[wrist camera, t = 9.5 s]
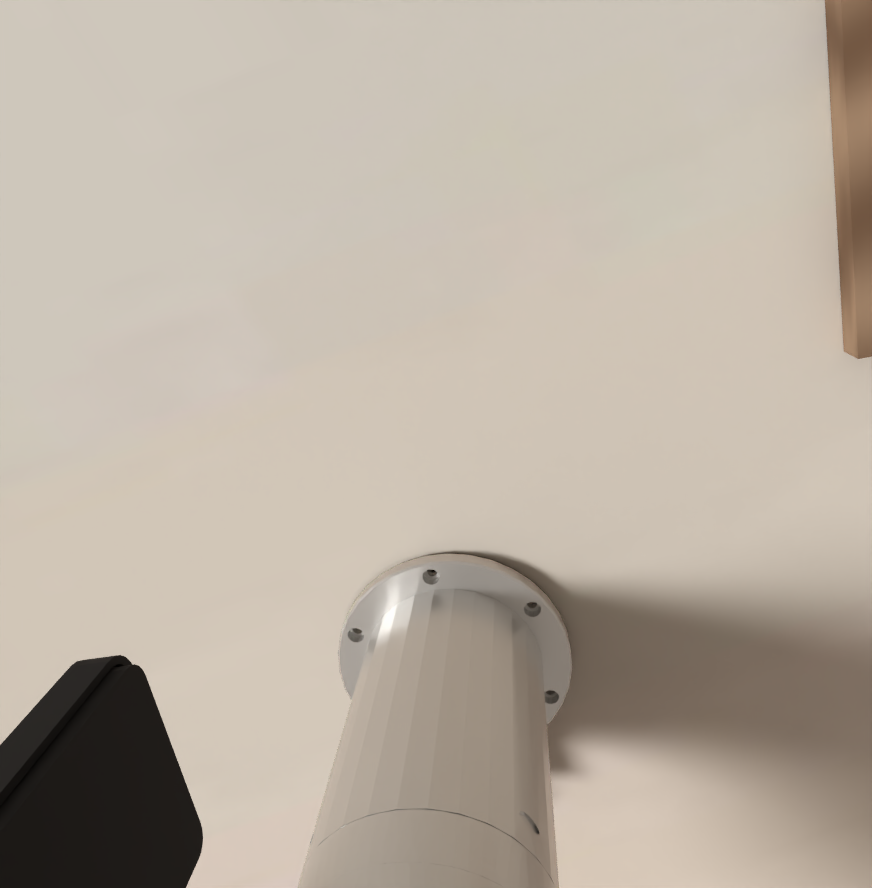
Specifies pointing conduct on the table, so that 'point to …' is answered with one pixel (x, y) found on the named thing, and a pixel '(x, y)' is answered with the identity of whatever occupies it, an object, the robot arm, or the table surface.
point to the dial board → (852, 162)
